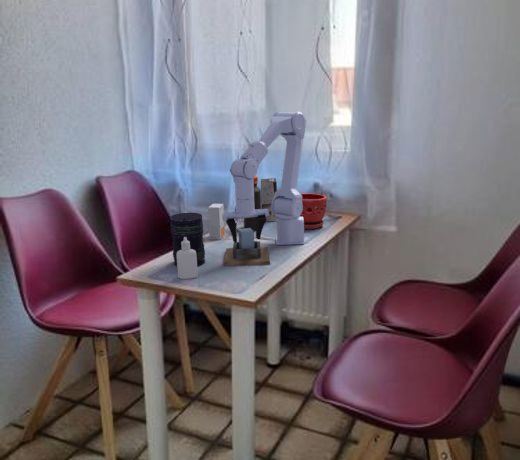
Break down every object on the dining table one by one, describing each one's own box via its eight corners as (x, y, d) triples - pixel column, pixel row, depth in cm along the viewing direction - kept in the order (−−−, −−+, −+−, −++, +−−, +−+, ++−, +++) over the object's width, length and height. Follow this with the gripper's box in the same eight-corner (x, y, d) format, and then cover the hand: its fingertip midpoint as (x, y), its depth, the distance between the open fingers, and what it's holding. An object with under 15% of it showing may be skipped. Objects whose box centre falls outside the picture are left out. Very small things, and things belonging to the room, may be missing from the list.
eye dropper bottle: (183, 273, 140) (180, 234, 137) (200, 275, 139) (197, 235, 135) (175, 278, 137) (172, 238, 133) (193, 280, 135) (190, 240, 131)
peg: (251, 251, 154) (250, 227, 152) (254, 255, 151) (253, 231, 148) (239, 253, 153) (238, 229, 151) (242, 256, 150) (241, 232, 147)
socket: (268, 249, 159) (268, 238, 158) (270, 264, 145) (269, 251, 144) (226, 251, 159) (225, 239, 158) (224, 265, 145) (223, 253, 144)
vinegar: (263, 226, 186) (261, 175, 181) (260, 231, 180) (258, 178, 174) (246, 225, 188) (244, 175, 182) (242, 230, 181) (240, 178, 176)
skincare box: (220, 240, 171) (219, 207, 167) (209, 239, 172) (207, 207, 168) (225, 235, 177) (223, 203, 173) (214, 234, 177) (212, 203, 174)
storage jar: (177, 257, 154) (173, 212, 150) (207, 257, 154) (204, 212, 149) (170, 268, 144) (166, 221, 140) (203, 268, 144) (199, 220, 140)
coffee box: (277, 221, 193) (276, 182, 188) (261, 221, 193) (260, 182, 188) (277, 215, 202) (276, 177, 197) (261, 216, 202) (260, 178, 197)
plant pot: (320, 232, 177) (320, 200, 173) (287, 228, 182) (286, 198, 179) (330, 223, 188) (331, 193, 185) (299, 220, 193) (299, 191, 190)
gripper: (263, 193, 152) (264, 233, 156) (218, 197, 148) (221, 239, 152) (270, 197, 146) (271, 239, 150) (224, 202, 142) (226, 245, 146)
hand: (246, 240), depth 151 cm, fingers open, 7 cm apart
